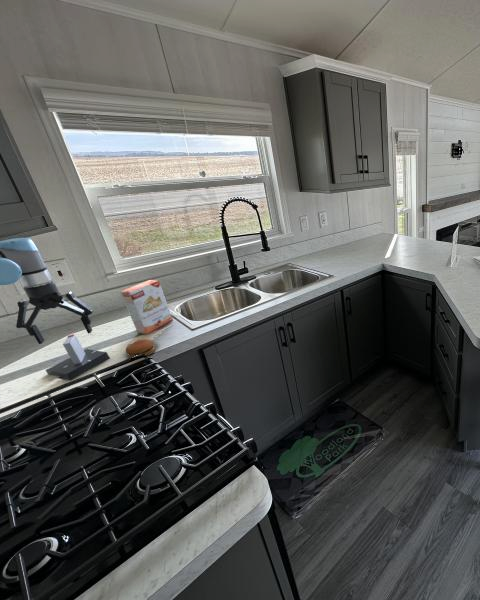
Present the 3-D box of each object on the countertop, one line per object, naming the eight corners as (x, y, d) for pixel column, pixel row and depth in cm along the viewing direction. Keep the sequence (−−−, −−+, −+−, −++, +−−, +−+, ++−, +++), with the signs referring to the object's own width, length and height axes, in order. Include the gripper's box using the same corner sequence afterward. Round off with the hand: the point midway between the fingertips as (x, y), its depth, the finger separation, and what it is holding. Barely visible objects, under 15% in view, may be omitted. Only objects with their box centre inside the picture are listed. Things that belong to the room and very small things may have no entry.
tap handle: (81, 362, 123) (69, 342, 119) (74, 364, 122) (62, 343, 118) (85, 353, 129) (74, 333, 125) (79, 355, 128) (68, 335, 124)
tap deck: (70, 380, 118) (66, 373, 117) (49, 376, 121) (44, 369, 120) (110, 358, 130) (107, 351, 129) (89, 355, 133) (86, 348, 132)
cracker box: (147, 334, 146) (129, 292, 137) (137, 333, 148) (118, 291, 139) (174, 319, 159) (159, 280, 150) (164, 318, 160) (148, 279, 151)
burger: (158, 352, 133) (154, 342, 131) (130, 362, 127) (125, 352, 125) (154, 343, 140) (150, 334, 138) (127, 352, 134) (122, 343, 132)
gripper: (87, 273, 120) (111, 323, 129) (-8, 288, 109) (24, 342, 118) (82, 279, 114) (107, 331, 123) (-20, 295, 103) (15, 351, 112)
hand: (66, 336), depth 121 cm, fingers open, 13 cm apart
